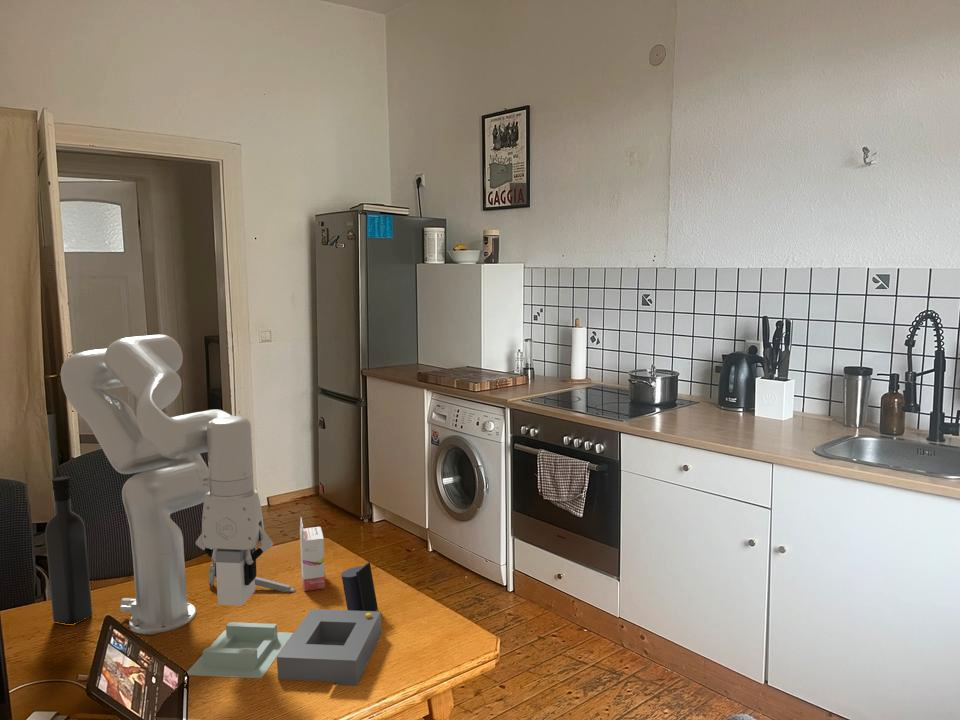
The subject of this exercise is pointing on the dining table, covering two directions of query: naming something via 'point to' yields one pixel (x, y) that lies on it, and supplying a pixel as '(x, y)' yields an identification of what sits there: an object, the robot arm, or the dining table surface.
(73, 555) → the wine bottle
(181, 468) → the robot arm
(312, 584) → the ink cartridge box
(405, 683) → the dining table surface
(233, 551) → the plug
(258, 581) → the caliper
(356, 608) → the speaker
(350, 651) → the block
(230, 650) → the pale green cradle tray
